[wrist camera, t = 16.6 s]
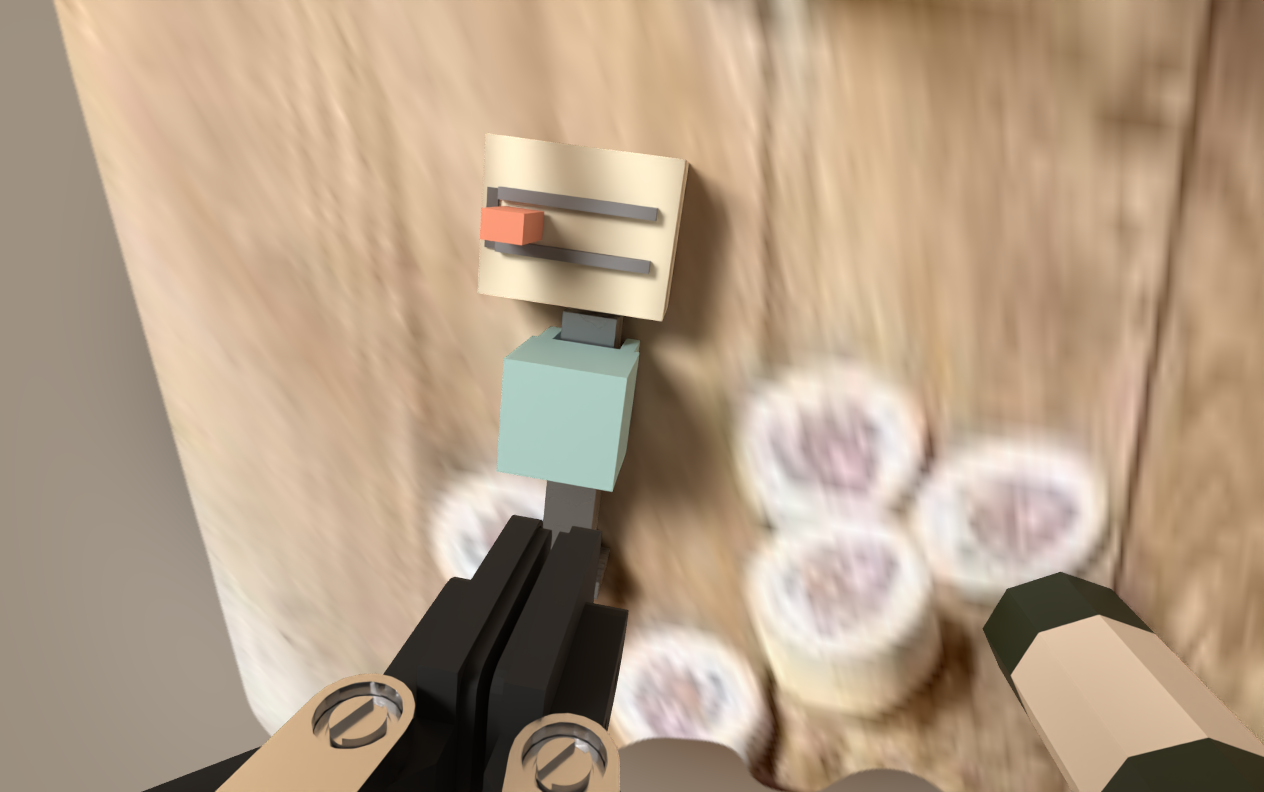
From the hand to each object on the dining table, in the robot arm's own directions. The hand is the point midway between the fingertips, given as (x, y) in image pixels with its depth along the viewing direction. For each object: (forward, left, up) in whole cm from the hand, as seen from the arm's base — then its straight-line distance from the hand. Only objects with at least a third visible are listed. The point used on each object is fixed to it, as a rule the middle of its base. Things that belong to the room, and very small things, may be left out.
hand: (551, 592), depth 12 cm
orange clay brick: (+8, -5, -23) cm, 24 cm away
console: (+5, -5, -27) cm, 28 cm away
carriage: (+4, +4, -27) cm, 28 cm away
